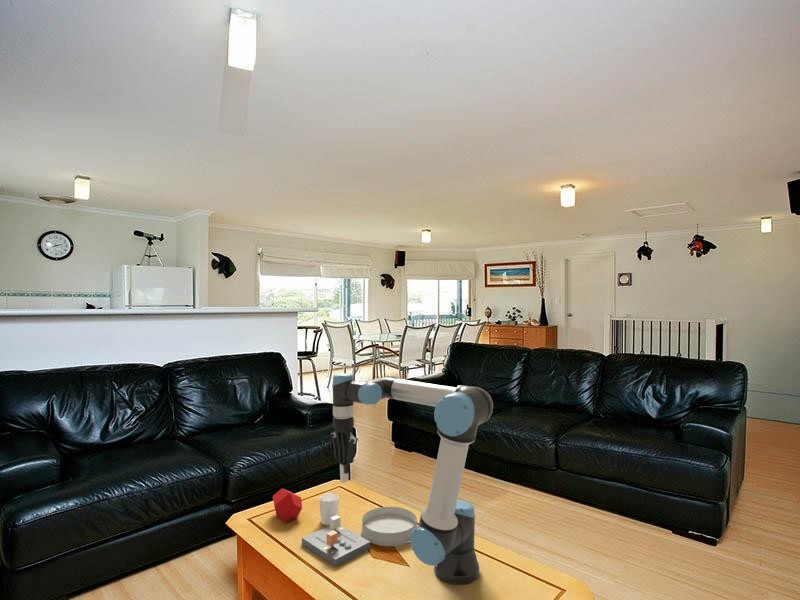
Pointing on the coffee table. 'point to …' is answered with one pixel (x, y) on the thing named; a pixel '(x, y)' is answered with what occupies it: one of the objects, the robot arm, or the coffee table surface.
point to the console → (336, 545)
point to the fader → (332, 538)
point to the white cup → (328, 507)
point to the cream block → (335, 522)
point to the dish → (388, 526)
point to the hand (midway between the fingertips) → (344, 481)
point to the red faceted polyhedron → (287, 505)
